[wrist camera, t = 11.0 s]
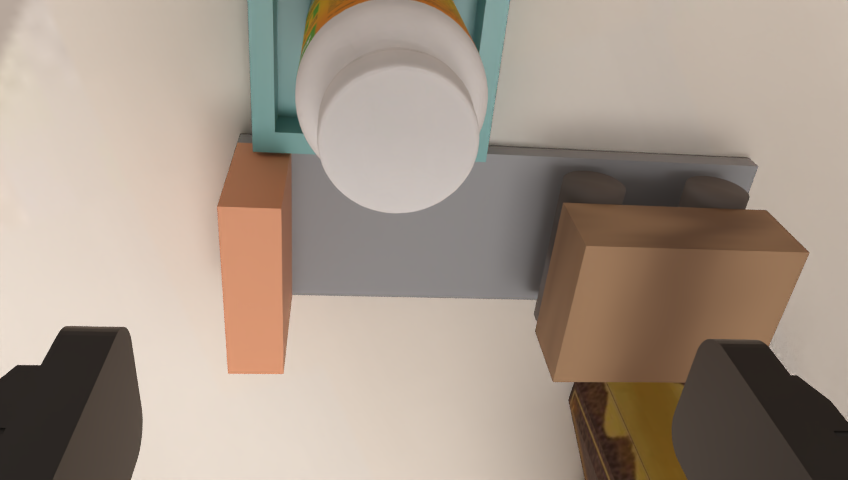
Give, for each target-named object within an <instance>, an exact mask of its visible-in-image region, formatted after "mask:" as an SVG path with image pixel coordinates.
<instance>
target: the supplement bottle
mask: <svg viewBox="0 0 848 480" xmlns="http://www.w3.org/2000/svg"><path fill="white" fill-rule="evenodd" d="M487 102H488V87H487V79H486V74H485V70H484V66H483V63H482V60H481V57H480V55H479V52H478V50H477V48H476V46H475V44H474V42H473V40H472V38H471V36H470V34H469V32H468V30H467V28H466V26H465V24H464V22H463V20H462V18H461V16H460V14H459V12H458V10H457V8H456V5H455V3H454V1H453V0H312V1H311V4H310V7H309V10H308V14H307V18H306V24H305V31H304V38H303V44H302V50H301V56H300V61H299V67H298V71H297V77H296V88H295V103H296V111H297V116H298V120H299V124H300V127H301V129H302V132H303V134H304V136H305V138H306V140H307V142H308V144H309V145H310V147H311V148H312V149H313V151H314V152H315V153H316V155H317V156H318V157H319V158H320V160H321V163H322V166H323V168H324V170H325V172H326V174H327V176H328V177H329V179H330V180H331V181H332V183H333V184H334V185H335V187H336V188H337V189H338V190H339V191H340V192H342V193H343V194H344V195H345V196H346V197H348V198H349V199H350V200H352V201H354V202H356V203H357V204H359V205H361V206H363V207H366V208H369V209H372V210H375V211H380V212H385V213H409V212H415V211H419V210H422V209H425V208H428V207H431V206H433V205H435V204H437V203H439V202H441V201H442V200H444V199H445V198H447V197H448V196H449V195H451V194H452V193H453V192H454V191H456V190H457V189H458V187H459V186H460V185H461V184H462V183H463V182H464V180H465V179H466V178H467V176H468V175H469V173H470V171H471V169H472V167H473V165H474V162H475V160H476V157H477V153H478V147H479V133H480V131H481V128H482V125H483V122H484V119H485V115H486V110H487Z"/></svg>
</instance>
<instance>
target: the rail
mask: <svg viewBox="0 0 848 480" xmlns="http://www.w3.org/2000/svg"><path fill="white" fill-rule="evenodd" d="M757 168H758V166H757V165H756V164H755V163H754V162H753V161H752V160H751V159H749V158H735V157H714V156H693V155H672V154H651V153H630V152H609V151H588V150H567V149H545V148H524V147H503V146H488V151H487V158H486V162H474V165H473V167H472V169H471V171H470V173H469V175H468V176H467V178H466V179H465V180H464V182H463V183H462V184H461V185H460V186H459V187H458V189H457V190H456V191H454V192H453V193H452V194H451V195H449V196H448V197H447V198H445V199H444V200H442V201H441V202H439V203H437V204H435V205H433V206H431V207H428V208H425V209H422V210H419V211H415V212H409V213H385V212H380V211H375V210H372V209H369V208H366V207H363V206H361V205H359V204H357V203H356V202H354V201H352V200H350V199H349V198H348V197H346V196H345V195H344V194H343V193H342V192H340V191H339V190H338V189H337V188H336V187H335V185H334V184H333V183H332V181H331V180H330V179H329V177H328V176H327V174H326V172H325V170H324V168H323V166H322V163H321V160H320V158H319V157H318V156H317V155H314V154H292V153H270V152H253V144H252V135H251V134H240V136H239V139H238V142H237V146H236V149H235V152H234V155H233V158H232V161H231V165H230V168H229V171H228V174H227V177H226V180H225V183H224V187H223V190H222V193H221V196H220V199H219V202H218V206H217V211H218V227H219V242H220V257H221V272H222V288H223V303H224V318H225V334H226V349H227V364H228V373H230V374H283V373H284V364H285V355H286V346H287V336H288V327H289V318H290V309H291V300H292V295H329V296H379V297H428V298H478V299H527V300H537V297H538V293H539V288H540V283H541V278H542V274H543V269H544V264H545V260H546V255H547V250H548V246H549V241H550V236H551V231H552V227H553V222H554V217H555V213H556V208H557V203H558V199H559V194H560V189H561V184H562V180H563V177H564V175H566V174H567V173H569V172H573V171H594V172H599V173H602V174H606V175H609V176H611V177H613V178H615V179H617V180H618V181H620V182H621V183H622V184H623V185H624V186H625V189H626V192H625V196H624V200H623V203H622V205H638V206H665V207H678V205H679V202H680V199H681V195H682V192H683V189H684V186H685V183H686V180H687V179H688V178H690V177H694V176H711V177H717V178H721V179H724V180H727V181H730V182H732V183H735V184H737V185H739V186H740V187H742V188H743V189H744V190H746V191H747V193H749V190H750V188H751V185H752V182H753V179H754V177H755V174H756V171H757Z"/></svg>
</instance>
